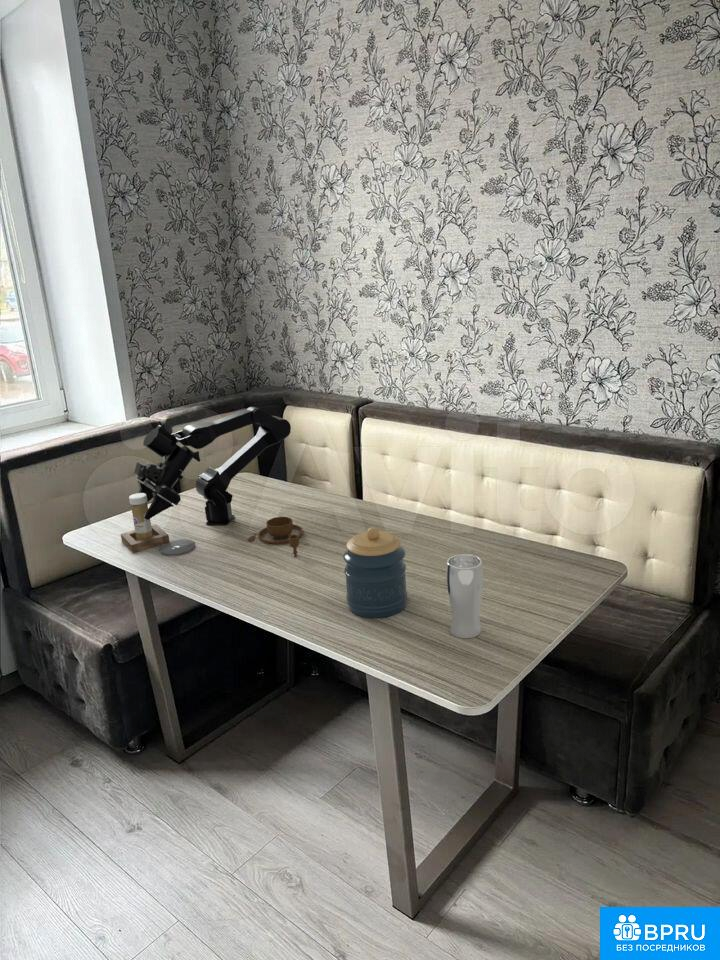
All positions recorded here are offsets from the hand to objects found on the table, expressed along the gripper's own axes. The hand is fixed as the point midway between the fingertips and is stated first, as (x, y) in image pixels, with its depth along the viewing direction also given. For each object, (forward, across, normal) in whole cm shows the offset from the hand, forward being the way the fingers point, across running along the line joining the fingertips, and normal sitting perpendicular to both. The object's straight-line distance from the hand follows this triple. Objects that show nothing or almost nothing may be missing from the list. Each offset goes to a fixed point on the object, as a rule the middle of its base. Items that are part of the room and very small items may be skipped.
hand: (140, 514), depth 196 cm
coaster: (+2, +10, +10) cm, 14 cm away
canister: (-14, +70, +26) cm, 76 cm away
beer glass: (-19, +90, +31) cm, 97 cm away
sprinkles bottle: (+6, 0, +6) cm, 8 cm away
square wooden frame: (+6, 0, +6) cm, 8 cm away
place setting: (-13, +25, +26) cm, 38 cm away
